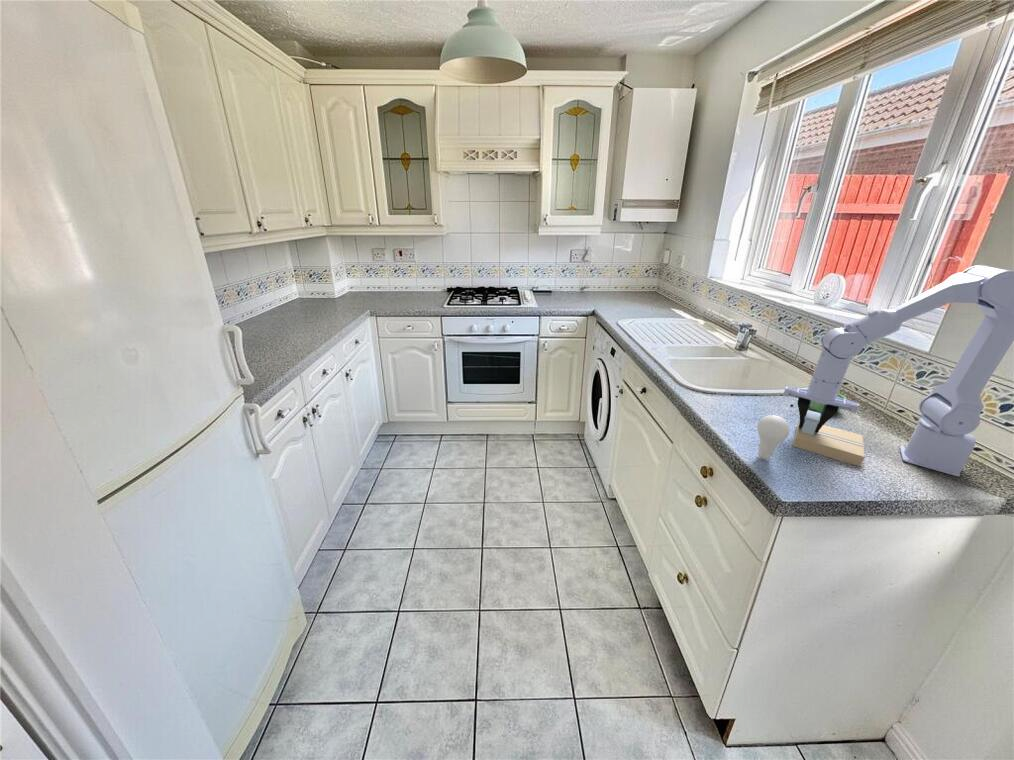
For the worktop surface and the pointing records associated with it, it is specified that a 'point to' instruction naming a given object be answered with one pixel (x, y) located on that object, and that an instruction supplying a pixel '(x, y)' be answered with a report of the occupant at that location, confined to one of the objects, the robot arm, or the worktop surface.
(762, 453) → the lightbulb
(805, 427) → the tab
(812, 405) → the ramekin
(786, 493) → the worktop surface
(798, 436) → the carton
